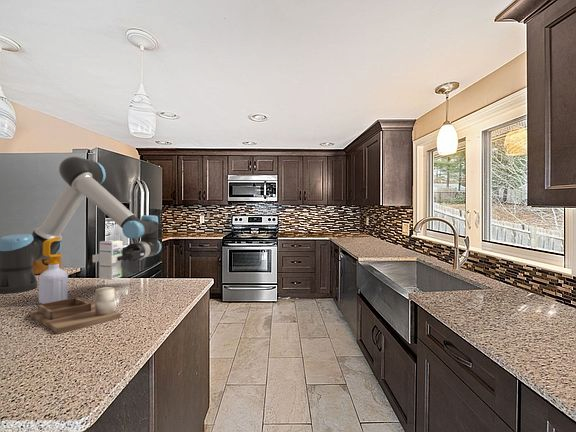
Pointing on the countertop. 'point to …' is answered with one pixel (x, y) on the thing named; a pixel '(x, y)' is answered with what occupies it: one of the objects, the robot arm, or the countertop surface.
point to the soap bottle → (52, 278)
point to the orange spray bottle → (43, 265)
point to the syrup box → (105, 266)
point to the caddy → (77, 311)
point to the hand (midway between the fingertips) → (102, 259)
